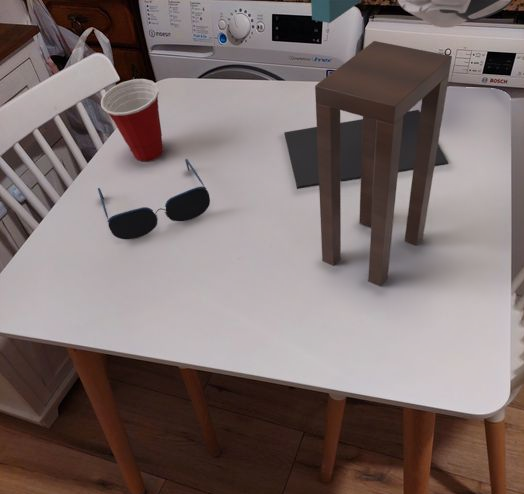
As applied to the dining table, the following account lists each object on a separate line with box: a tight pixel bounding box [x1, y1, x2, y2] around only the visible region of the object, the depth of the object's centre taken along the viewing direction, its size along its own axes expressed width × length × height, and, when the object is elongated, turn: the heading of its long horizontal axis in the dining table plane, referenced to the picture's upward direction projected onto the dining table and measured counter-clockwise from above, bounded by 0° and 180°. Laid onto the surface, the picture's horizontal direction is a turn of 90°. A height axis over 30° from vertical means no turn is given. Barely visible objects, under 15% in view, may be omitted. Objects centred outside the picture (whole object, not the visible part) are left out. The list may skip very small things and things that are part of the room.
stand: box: [314, 40, 453, 287], centre depth 67 cm, size 12×10×26 cm
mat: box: [283, 109, 449, 189], centre depth 93 cm, size 26×18×1 cm
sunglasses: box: [97, 158, 211, 241], centre depth 89 cm, size 17×15×5 cm
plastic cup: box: [100, 78, 164, 162], centre depth 96 cm, size 11×11×12 cm
